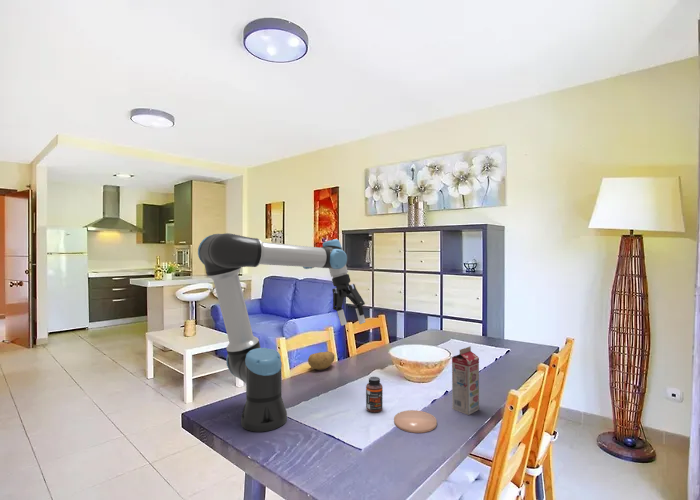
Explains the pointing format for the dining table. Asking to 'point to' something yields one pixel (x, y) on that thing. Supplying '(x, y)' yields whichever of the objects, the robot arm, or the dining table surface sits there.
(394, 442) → the dining table surface
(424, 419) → the saucer
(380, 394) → the supplement bottle
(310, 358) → the potato
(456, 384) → the juice carton
